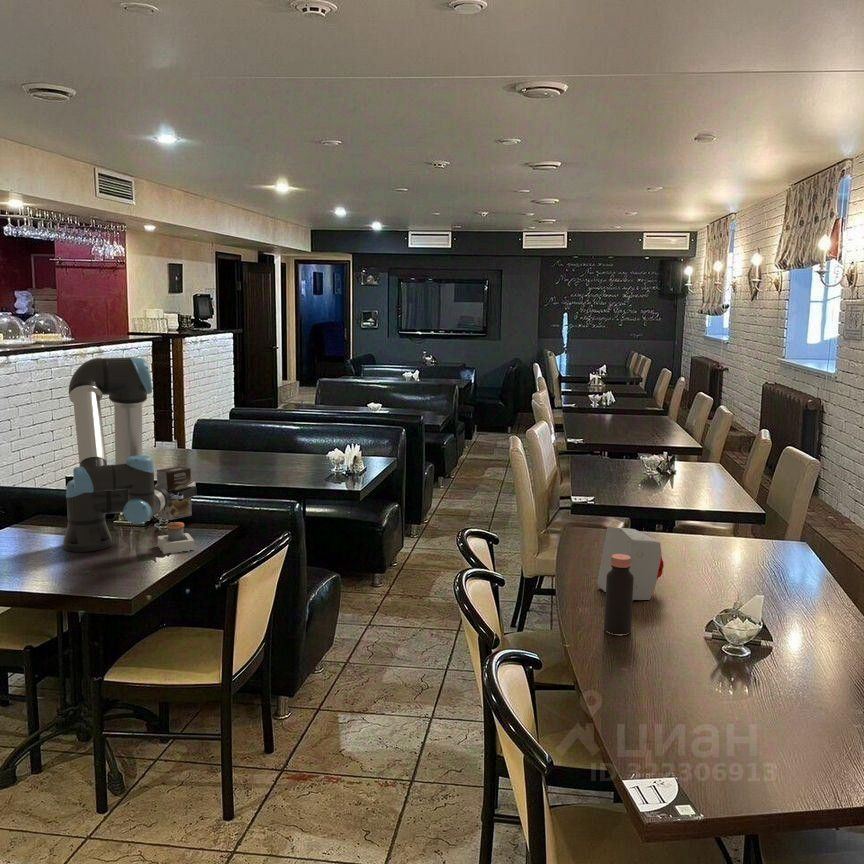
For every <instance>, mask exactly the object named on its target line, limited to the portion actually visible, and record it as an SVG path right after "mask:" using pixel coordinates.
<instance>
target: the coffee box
mask: <svg viewBox="0 0 864 864" xmlns="http://www.w3.org/2000/svg"><path fill="white" fill-rule="evenodd" d="M191 471H192V470H191V468H189V467H185V466H175V467H167V468H162V469H157V470H156V484H157V487H161V488H164V489H165V490H170V489H175V490H177V489H182V488H186V487H187V486H188V485H189V484H191V483H192V474H191V473H192V472H191ZM171 493H172V492H171ZM190 516H192V497H190V498H187V499H184V500H183V501H179V500H178V499H176V500H173V501H170V503H169V505H168V506H167V507H166V508H165V509H163V510H162V511H160V512H158V513H157V518H159V519H164V520H167V521H172V520H177V519H181V518H185V517H186V518H187V517H190Z"/></svg>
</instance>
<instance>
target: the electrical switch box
mask: <svg viewBox="0 0 864 864" xmlns="http://www.w3.org/2000/svg"><path fill="white" fill-rule="evenodd" d="M601 554H602V555H601V560H600V565H599V571H598V577H597V582H596V583H597V585H598V586H599V587H600V589H601V590H602V591H603V592H604V593H605V592H606V578H607V574H608V572H610V571H611V570H612V567H611V556H612V555H614V554H625V555H628V556H630V557H631V566H630V568H629V571H630V572H631V574H632V575H633V577H634V583H633V601H634V600H649V601H650V600H651V598H652V596H653V594H654V592H655V590H656V586H657V585H656V584H657V580H659V578H661V577H662V575H663V570H664V560H663V555H662V545H661V542H660V541H659V540H656V539H655V538H653V537H650V536H649V535H647V534H645V533H643V532H641V531H639V530H637V529H635V528H628V527H618V526H617V527H616V526H607V527H606V532H605V538H604V543H603V549H602V553H601Z"/></svg>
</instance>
